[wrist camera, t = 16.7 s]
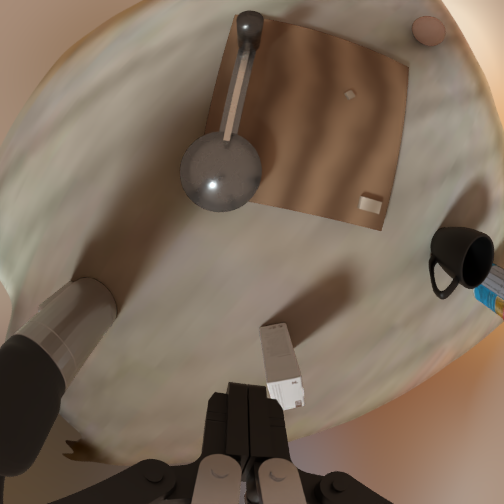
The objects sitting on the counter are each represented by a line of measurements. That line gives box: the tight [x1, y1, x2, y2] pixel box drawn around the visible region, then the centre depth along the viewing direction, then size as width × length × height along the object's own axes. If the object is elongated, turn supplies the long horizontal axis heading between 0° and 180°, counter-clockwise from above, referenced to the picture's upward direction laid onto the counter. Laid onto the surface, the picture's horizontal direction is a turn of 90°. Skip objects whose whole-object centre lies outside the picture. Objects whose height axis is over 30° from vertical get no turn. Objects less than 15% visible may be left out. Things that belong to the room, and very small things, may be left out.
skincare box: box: [259, 323, 305, 410], centre depth 35 cm, size 6×4×12 cm
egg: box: [412, 16, 446, 46], centre depth 24 cm, size 5×5×7 cm
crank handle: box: [180, 11, 264, 212], centre depth 26 cm, size 22×9×8 cm, turn 169°
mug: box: [429, 227, 494, 299], centre depth 33 cm, size 8×12×10 cm
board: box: [204, 15, 409, 231], centre depth 30 cm, size 25×25×3 cm
